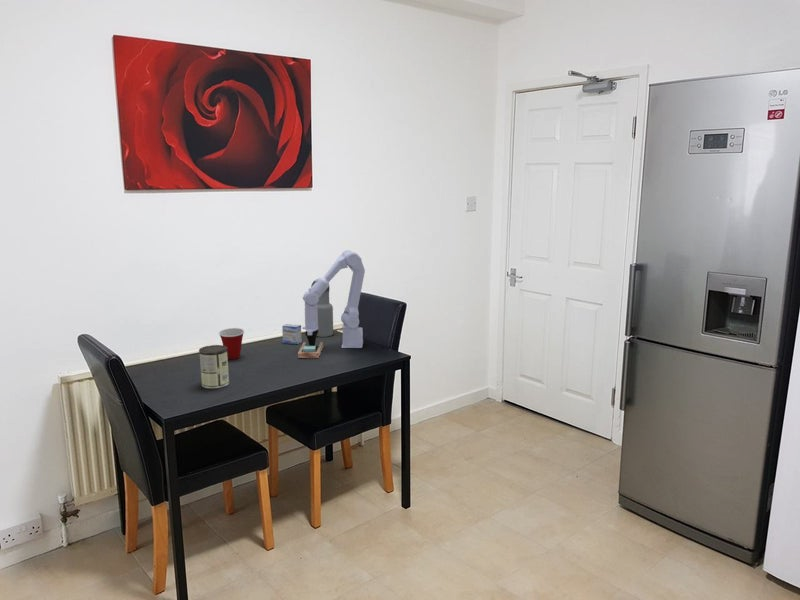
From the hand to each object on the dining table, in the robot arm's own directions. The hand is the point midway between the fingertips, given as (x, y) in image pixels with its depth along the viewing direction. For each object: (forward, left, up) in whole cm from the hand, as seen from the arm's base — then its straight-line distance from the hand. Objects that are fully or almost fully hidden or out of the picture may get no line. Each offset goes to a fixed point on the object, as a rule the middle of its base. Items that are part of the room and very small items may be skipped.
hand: (312, 346), depth 284 cm
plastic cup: (+33, +12, -2) cm, 35 cm away
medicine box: (+11, -12, -2) cm, 16 cm away
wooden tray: (0, +4, -1) cm, 5 cm away
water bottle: (-2, -27, -2) cm, 27 cm away
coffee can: (+31, +47, -2) cm, 56 cm away
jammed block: (0, +9, -1) cm, 9 cm away
